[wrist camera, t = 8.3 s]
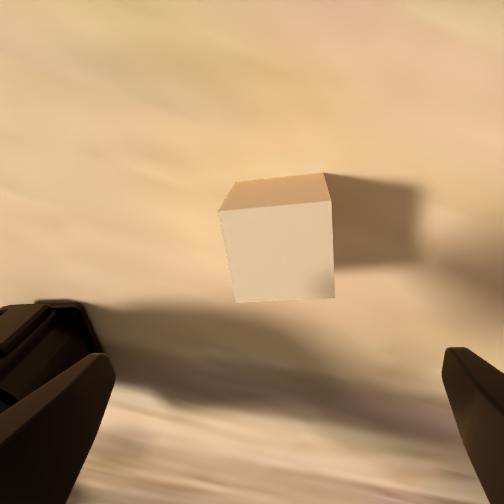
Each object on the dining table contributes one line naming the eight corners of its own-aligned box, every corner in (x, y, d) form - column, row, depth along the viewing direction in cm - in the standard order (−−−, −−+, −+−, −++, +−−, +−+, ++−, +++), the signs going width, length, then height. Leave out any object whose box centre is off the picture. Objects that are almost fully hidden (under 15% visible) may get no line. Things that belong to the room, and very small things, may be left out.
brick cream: (326, 252, 19) (335, 297, 15) (247, 257, 19) (235, 302, 15) (323, 172, 17) (331, 200, 13) (235, 181, 18) (217, 211, 14)
